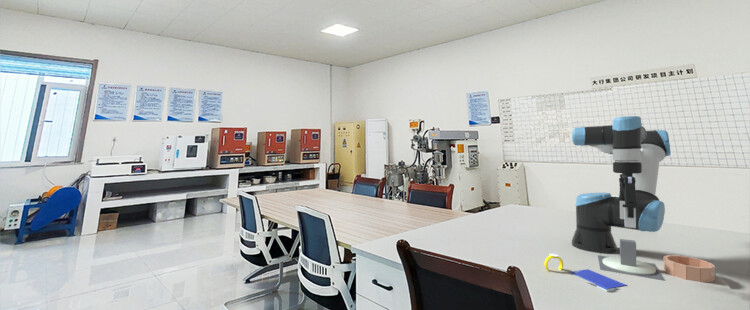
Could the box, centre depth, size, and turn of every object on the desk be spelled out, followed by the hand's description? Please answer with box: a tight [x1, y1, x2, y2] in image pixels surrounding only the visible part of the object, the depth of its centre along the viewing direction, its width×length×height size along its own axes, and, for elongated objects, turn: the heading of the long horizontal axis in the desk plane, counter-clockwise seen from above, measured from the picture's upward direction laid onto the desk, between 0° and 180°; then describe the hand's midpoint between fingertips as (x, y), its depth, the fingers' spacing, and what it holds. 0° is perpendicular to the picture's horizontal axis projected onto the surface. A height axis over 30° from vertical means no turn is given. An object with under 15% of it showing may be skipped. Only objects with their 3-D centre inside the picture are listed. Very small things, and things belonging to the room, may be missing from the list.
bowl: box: [662, 254, 716, 283], centre depth 95 cm, size 11×11×5 cm
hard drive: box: [569, 268, 628, 293], centre depth 93 cm, size 2×8×12 cm
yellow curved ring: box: [543, 253, 564, 273], centre depth 101 cm, size 6×3×6 cm, turn 93°
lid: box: [602, 238, 656, 275], centre depth 102 cm, size 14×14×9 cm
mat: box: [597, 255, 666, 282], centre depth 102 cm, size 16×16×1 cm
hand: (627, 223), depth 101 cm, fingers open, 13 cm apart
